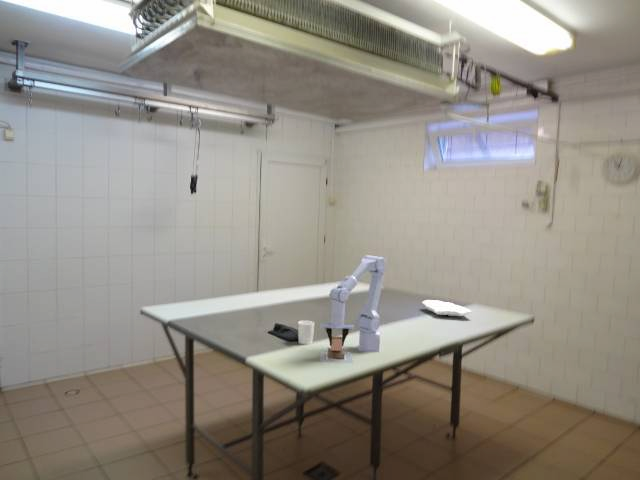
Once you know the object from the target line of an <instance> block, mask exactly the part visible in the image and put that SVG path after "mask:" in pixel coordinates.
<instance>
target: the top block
mask: <svg viewBox="0 0 640 480" xmlns="http://www.w3.org/2000/svg"><path fill="white" fill-rule="evenodd" d="M330 348H331V350H332V351H342V349H343V346H342V336H335V335H334V336H332V346H330Z"/></svg>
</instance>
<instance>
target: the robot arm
mask: <svg viewBox="0 0 640 480" xmlns="http://www.w3.org/2000/svg"><path fill="white" fill-rule="evenodd" d="M386 267H387V261H386V259H385V257H383V256H375V255H369V254H365V255H364V256H363V257H362V259H360V264H359V265H358V266H357V267H356V269H355V270H354V272H353V273H352V274H351V275H347V276H345V277H344V279H343V280H342V281H341V282H339V284H338V285H337V286H335V287H333V288H331V290H330V293H329V299H330V303H331V313H330V314H331V315H330V316H331V317H330V319H331V320H330V323H321V324H320V330H325V331H326V334H327V337H328V340H329V346H330V347H331V346H332V335H333V330H341V332H342V333H341V335H342V336H341V337H342V347H344V346H345V345H344V343H345V341H346V338H347V337H348V335H349V330H350V331H354V330H355V325H354V324H347V323H345V314H346V312H345V311H346V302H347V300H348V299H349V296H350V293H351V292H352V290H354V289H355V287H356V286H357V285H358V280H360V279H361V278H362V277H363V276H364V275H365V274H367V272H368V273H369V274H370V276H371V279H370V283H369V284H370V285H369V288H368V292H367V296H366V302H365V305H364V309H363V310H361V311H360V312H359V315H358V317H357V319H356V326H357V327H358V330H359V337H358V338H359V339H358V340H359V341H358V345H357V350H358V352H371V353H372V352H373V353H377V352H378V353H380V343H381V341H380V340H381V339H380V338H381V334H380V331H379V327H380V317H381V316H380V315H379V314H378V312H377V310H378V309H377V308H378V304H379V300H380V295H381V290H382V286H383V281H384V279H385V278H384V277H385V272H386Z"/></svg>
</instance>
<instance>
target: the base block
mask: <svg viewBox="0 0 640 480" xmlns="http://www.w3.org/2000/svg"><path fill="white" fill-rule="evenodd" d="M327 351H328V359H344V358H345V353H344V352H345V350H344V348H342V351H332V350H331V347H330V348H329V347H328V348H327Z"/></svg>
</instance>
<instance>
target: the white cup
mask: <svg viewBox="0 0 640 480" xmlns="http://www.w3.org/2000/svg"><path fill="white" fill-rule="evenodd" d="M315 323H316V322H315V321H311V320H307V319H306V320H299V321H298V322H297V326H298V327H297V330H298V337H299V338H298V340H297V341H298V343H299V344H302V345H310V344H313V341H314V334H315V333H314V332H315Z"/></svg>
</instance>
